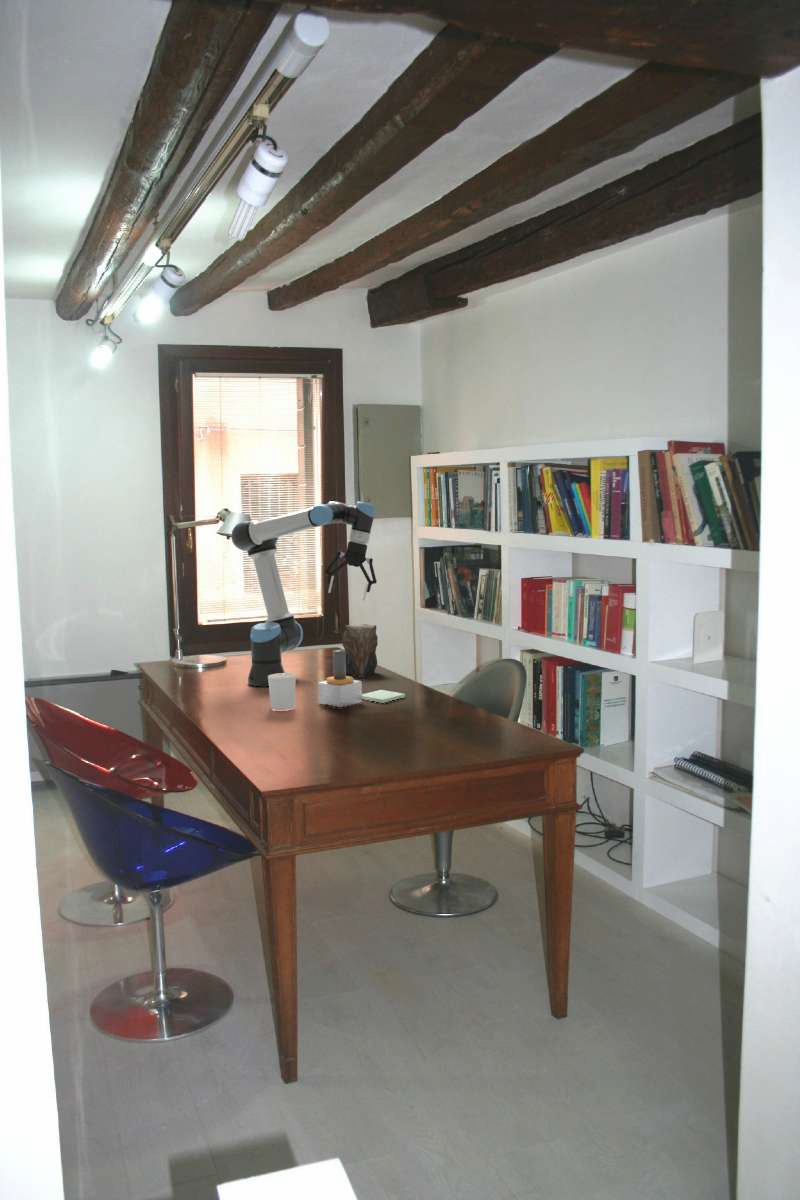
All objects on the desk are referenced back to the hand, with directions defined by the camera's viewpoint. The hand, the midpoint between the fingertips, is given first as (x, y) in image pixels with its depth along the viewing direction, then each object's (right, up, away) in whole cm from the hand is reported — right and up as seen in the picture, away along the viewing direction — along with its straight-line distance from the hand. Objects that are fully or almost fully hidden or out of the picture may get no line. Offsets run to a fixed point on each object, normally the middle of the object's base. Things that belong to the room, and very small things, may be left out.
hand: (346, 596), depth 404 cm
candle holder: (-21, -40, -35) cm, 57 cm away
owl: (+4, -32, +24) cm, 40 cm away
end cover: (-1, -36, -28) cm, 46 cm away
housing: (-1, -38, -28) cm, 48 cm away
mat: (+14, -37, -21) cm, 45 cm away
